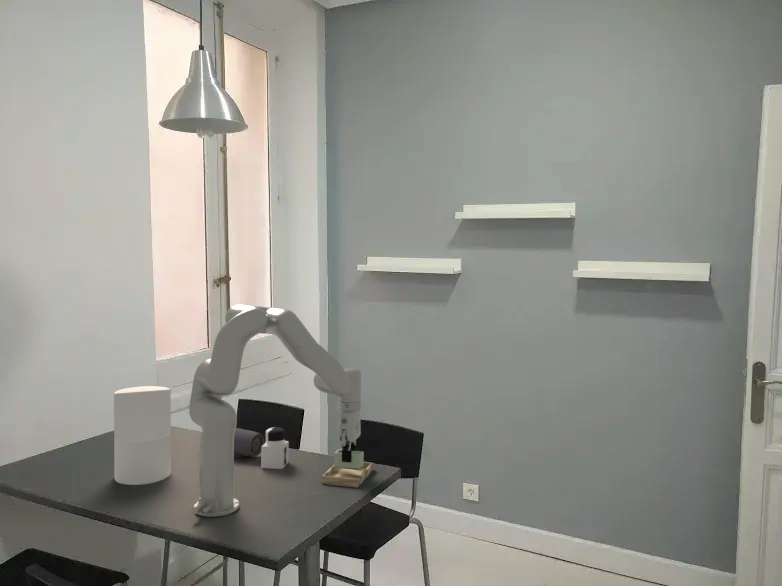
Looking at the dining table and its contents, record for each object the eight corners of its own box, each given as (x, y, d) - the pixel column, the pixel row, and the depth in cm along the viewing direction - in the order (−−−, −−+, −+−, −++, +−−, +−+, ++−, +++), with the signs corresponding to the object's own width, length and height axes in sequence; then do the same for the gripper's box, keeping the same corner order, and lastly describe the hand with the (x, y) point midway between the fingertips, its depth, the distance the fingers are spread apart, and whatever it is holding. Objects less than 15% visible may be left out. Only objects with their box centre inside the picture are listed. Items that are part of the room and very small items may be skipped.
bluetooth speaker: (199, 453, 224) (199, 426, 224) (216, 446, 233) (216, 421, 232) (248, 463, 215) (249, 435, 214) (264, 455, 223) (265, 429, 223)
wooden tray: (358, 487, 193) (358, 480, 193) (321, 483, 196) (321, 476, 196) (373, 469, 210) (373, 462, 210) (339, 466, 213) (339, 459, 213)
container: (288, 462, 216) (289, 426, 216) (282, 469, 209) (283, 432, 208) (267, 461, 217) (267, 425, 217) (260, 468, 210) (261, 431, 209)
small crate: (360, 470, 200) (360, 455, 200) (334, 467, 202) (334, 452, 202) (363, 466, 204) (363, 451, 204) (338, 463, 206) (338, 449, 206)
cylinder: (113, 470, 204) (112, 388, 203) (167, 463, 212) (167, 384, 211) (116, 488, 189) (115, 399, 188) (174, 480, 197) (174, 394, 196)
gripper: (352, 412, 193) (351, 469, 194) (367, 400, 209) (366, 453, 210) (330, 410, 195) (329, 466, 196) (346, 399, 211) (346, 451, 212)
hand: (348, 459), depth 203 cm, fingers closed on small crate, 4 cm apart
